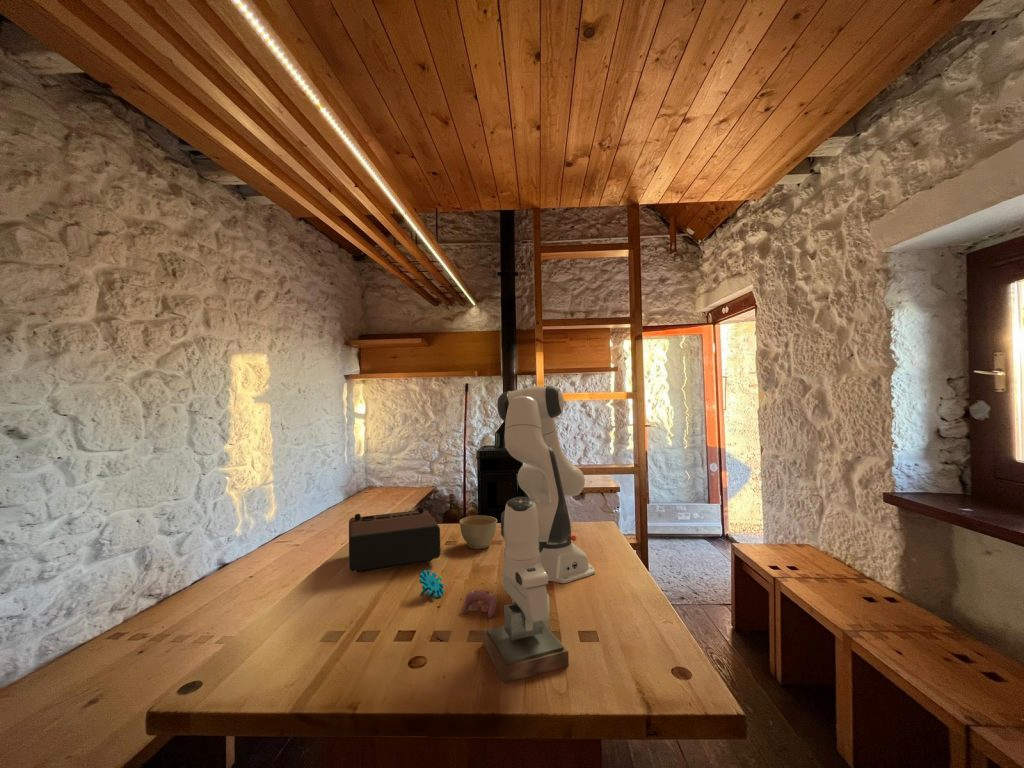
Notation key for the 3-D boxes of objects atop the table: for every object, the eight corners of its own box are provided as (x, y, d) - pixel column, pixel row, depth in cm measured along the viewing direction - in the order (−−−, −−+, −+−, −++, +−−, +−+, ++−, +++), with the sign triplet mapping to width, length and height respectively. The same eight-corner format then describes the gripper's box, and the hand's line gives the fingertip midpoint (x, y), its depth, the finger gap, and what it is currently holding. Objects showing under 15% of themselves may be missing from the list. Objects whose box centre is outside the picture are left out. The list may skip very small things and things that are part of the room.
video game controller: (496, 618, 124) (499, 592, 128) (491, 618, 121) (494, 591, 124) (465, 614, 128) (469, 588, 131) (459, 613, 124) (463, 587, 127)
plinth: (540, 631, 114) (539, 616, 114) (568, 665, 99) (568, 648, 100) (483, 644, 109) (483, 628, 109) (504, 683, 94) (504, 664, 94)
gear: (434, 599, 131) (416, 572, 134) (421, 611, 131) (404, 584, 135) (452, 589, 141) (435, 564, 144) (440, 600, 142) (424, 575, 145)
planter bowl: (496, 552, 175) (496, 525, 175) (457, 552, 175) (457, 526, 175) (498, 539, 191) (497, 514, 191) (462, 539, 191) (462, 515, 191)
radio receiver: (433, 543, 187) (433, 502, 188) (447, 565, 162) (446, 517, 163) (348, 555, 174) (348, 511, 175) (349, 581, 149) (348, 529, 150)
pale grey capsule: (544, 618, 121) (543, 589, 122) (553, 628, 116) (552, 598, 116) (524, 622, 119) (524, 593, 119) (533, 633, 114) (532, 602, 114)
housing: (504, 630, 105) (504, 605, 105) (534, 623, 108) (533, 599, 108) (511, 640, 101) (511, 614, 101) (542, 633, 103) (541, 608, 104)
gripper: (496, 553, 113) (497, 606, 113) (525, 584, 94) (527, 647, 94) (518, 550, 116) (519, 601, 115) (551, 579, 97) (552, 641, 96)
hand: (523, 622), depth 104 cm, fingers closed on housing, 5 cm apart
